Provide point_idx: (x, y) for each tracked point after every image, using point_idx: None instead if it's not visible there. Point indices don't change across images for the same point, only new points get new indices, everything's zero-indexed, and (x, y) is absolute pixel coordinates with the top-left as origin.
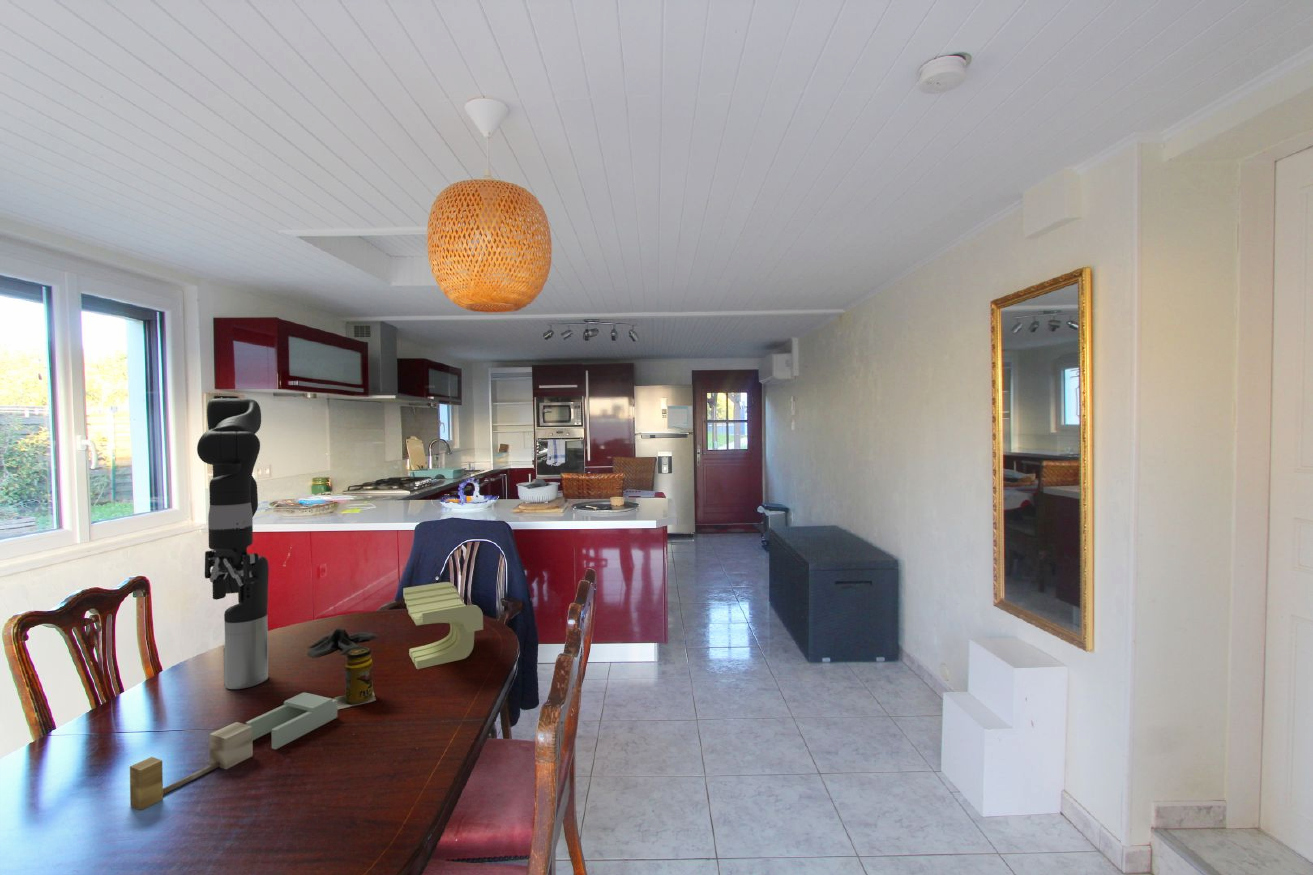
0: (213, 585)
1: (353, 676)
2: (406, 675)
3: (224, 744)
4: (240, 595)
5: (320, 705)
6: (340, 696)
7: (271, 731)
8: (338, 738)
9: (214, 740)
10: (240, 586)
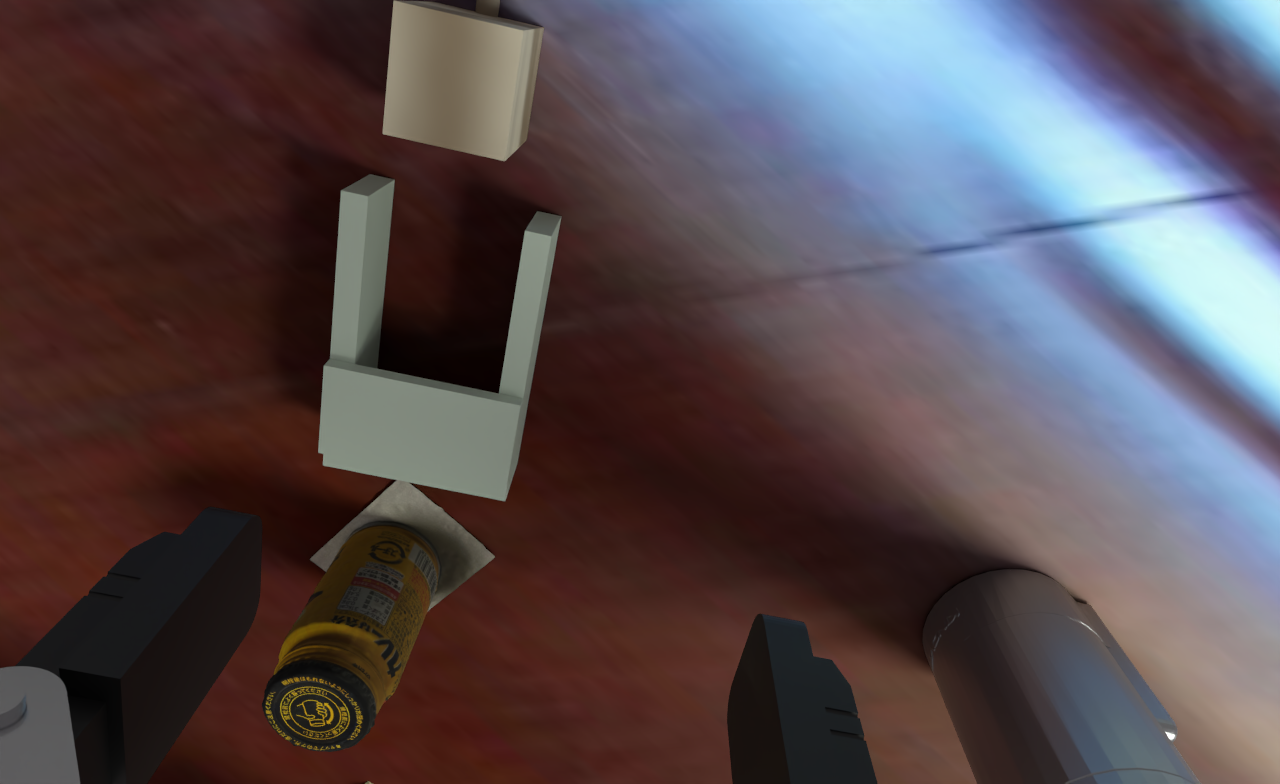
0: (814, 766)
1: (329, 595)
2: (367, 736)
3: (411, 2)
4: (150, 569)
5: (322, 398)
6: (477, 566)
7: (371, 193)
8: (193, 287)
9: (489, 21)
10: (79, 681)
